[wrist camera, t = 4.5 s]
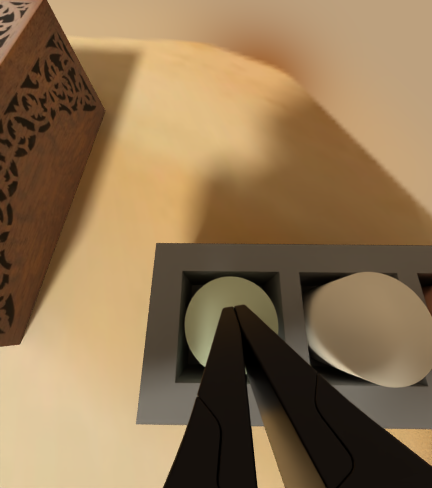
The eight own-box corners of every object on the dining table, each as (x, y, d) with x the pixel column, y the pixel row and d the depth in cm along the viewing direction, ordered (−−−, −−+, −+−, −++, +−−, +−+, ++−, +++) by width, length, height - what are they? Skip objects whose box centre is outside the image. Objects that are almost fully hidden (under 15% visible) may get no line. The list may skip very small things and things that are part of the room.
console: (438, 381, 16) (626, 432, 9) (173, 377, 17) (136, 424, 9) (407, 276, 19) (531, 246, 12) (180, 274, 19) (156, 243, 12)
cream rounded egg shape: (373, 365, 12) (454, 388, 8) (295, 364, 12) (336, 386, 8) (356, 287, 14) (418, 272, 10) (287, 286, 14) (318, 271, 10)
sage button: (262, 360, 14) (282, 377, 9) (192, 359, 14) (181, 375, 9) (258, 289, 15) (274, 276, 11) (195, 288, 15) (187, 276, 11)
